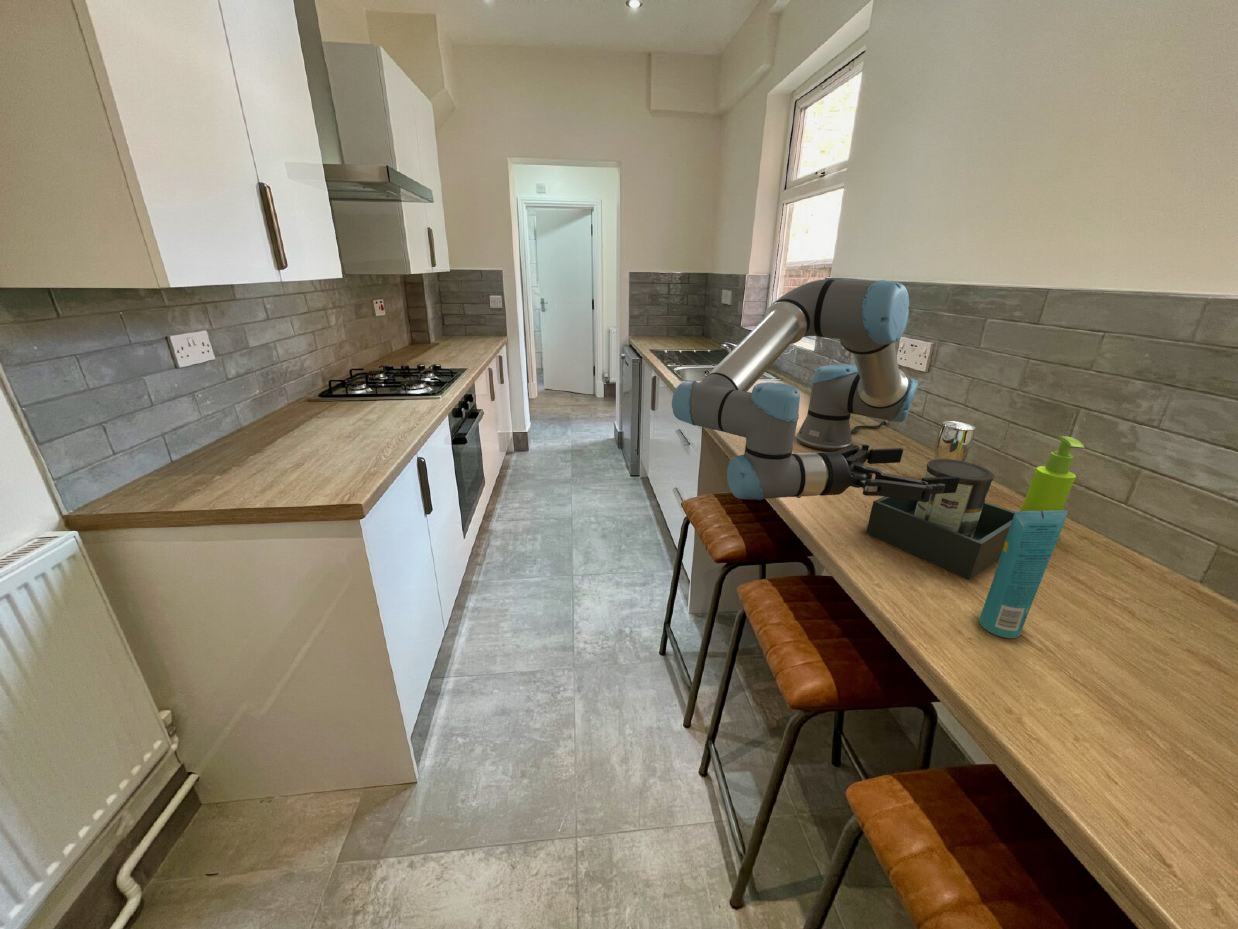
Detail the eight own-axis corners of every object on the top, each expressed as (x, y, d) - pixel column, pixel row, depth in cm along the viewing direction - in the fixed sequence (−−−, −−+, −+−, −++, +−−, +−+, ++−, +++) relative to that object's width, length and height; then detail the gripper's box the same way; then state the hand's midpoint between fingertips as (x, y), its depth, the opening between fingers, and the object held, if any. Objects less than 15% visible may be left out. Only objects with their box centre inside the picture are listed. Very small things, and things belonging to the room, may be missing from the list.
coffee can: (957, 526, 98) (978, 461, 93) (981, 553, 89) (1006, 482, 83) (901, 520, 100) (919, 456, 94) (919, 546, 90) (940, 476, 85)
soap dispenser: (1022, 537, 96) (1059, 442, 89) (1010, 522, 102) (1043, 431, 95) (1059, 543, 94) (1099, 446, 87) (1044, 527, 100) (1080, 435, 93)
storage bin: (913, 509, 107) (921, 480, 104) (1013, 548, 92) (1026, 515, 90) (865, 532, 97) (873, 501, 94) (969, 579, 83) (981, 544, 80)
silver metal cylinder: (953, 491, 116) (971, 431, 110) (921, 482, 120) (937, 424, 115) (962, 484, 120) (980, 425, 114) (931, 475, 125) (947, 419, 119)
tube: (1004, 614, 74) (1049, 501, 67) (1035, 636, 70) (1085, 518, 63) (962, 619, 73) (1002, 504, 66) (990, 642, 69) (1036, 522, 61)
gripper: (781, 466, 97) (877, 462, 101) (856, 528, 75) (977, 520, 78) (786, 431, 95) (885, 427, 98) (866, 484, 72) (991, 477, 75)
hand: (926, 468), depth 88 cm, fingers open, 13 cm apart
